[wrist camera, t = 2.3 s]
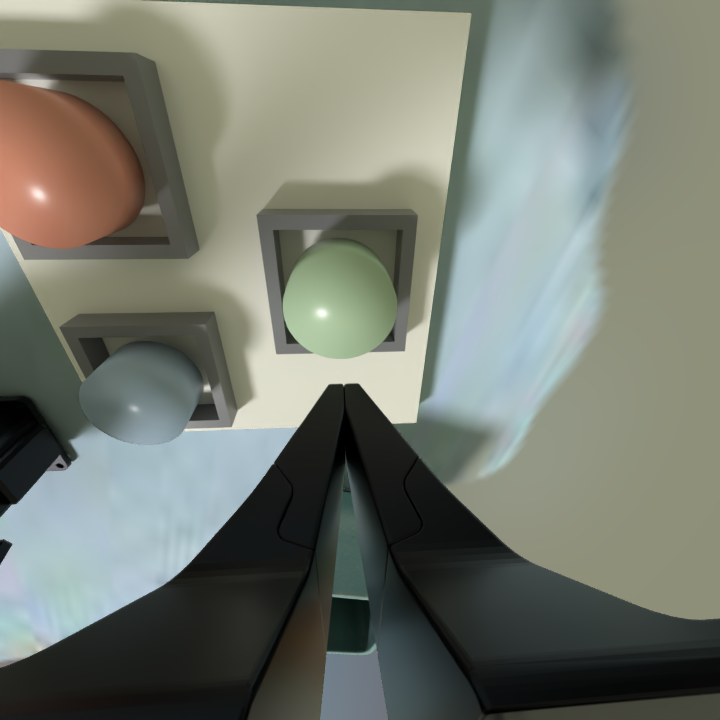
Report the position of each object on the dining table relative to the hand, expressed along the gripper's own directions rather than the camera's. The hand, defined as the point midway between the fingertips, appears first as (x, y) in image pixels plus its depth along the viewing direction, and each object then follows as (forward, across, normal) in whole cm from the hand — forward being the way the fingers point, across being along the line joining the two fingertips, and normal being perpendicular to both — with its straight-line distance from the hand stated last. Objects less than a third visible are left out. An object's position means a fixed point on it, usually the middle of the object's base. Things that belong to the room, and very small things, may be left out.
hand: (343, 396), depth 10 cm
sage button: (+8, 0, 0) cm, 8 cm away
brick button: (+8, +10, -5) cm, 14 cm away
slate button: (+8, +10, +5) cm, 14 cm away
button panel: (+11, +5, 0) cm, 12 cm away
